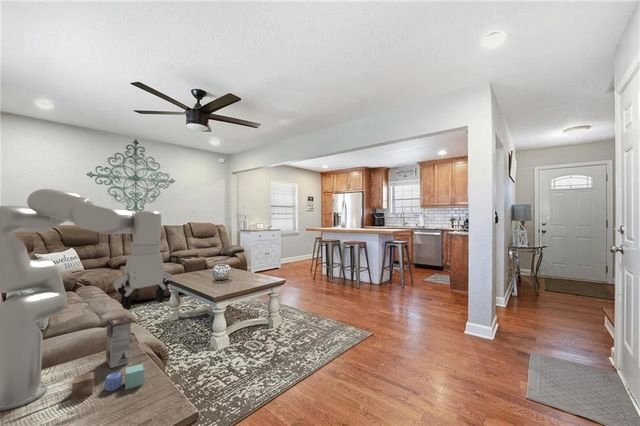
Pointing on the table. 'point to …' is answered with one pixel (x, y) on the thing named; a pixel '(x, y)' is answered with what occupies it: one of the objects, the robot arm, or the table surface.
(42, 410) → the table surface
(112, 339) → the coffee box
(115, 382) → the decorative dice
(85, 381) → the walnut block
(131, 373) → the teal block
